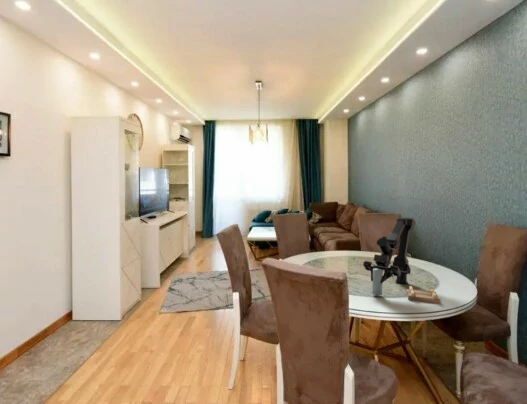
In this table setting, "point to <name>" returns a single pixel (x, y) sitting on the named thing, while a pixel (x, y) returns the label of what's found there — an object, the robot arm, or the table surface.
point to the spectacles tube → (377, 281)
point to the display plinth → (422, 295)
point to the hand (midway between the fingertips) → (376, 281)
